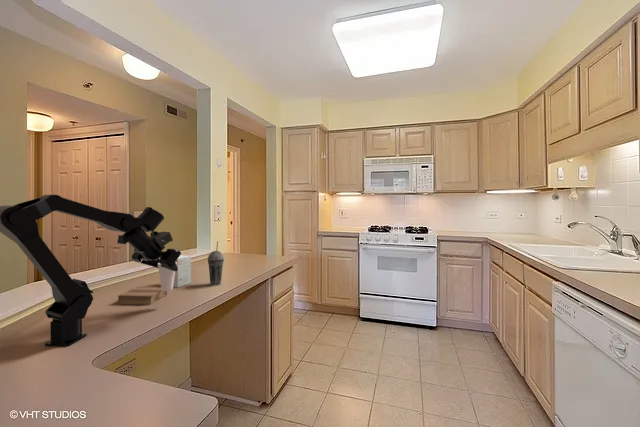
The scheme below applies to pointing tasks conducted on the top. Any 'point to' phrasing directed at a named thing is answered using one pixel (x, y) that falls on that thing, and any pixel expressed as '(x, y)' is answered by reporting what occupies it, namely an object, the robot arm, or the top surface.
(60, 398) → the top surface
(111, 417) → the top surface
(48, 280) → the robot arm
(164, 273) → the smoothie
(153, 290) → the walnut plinth
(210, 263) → the beverage cup
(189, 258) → the small box
